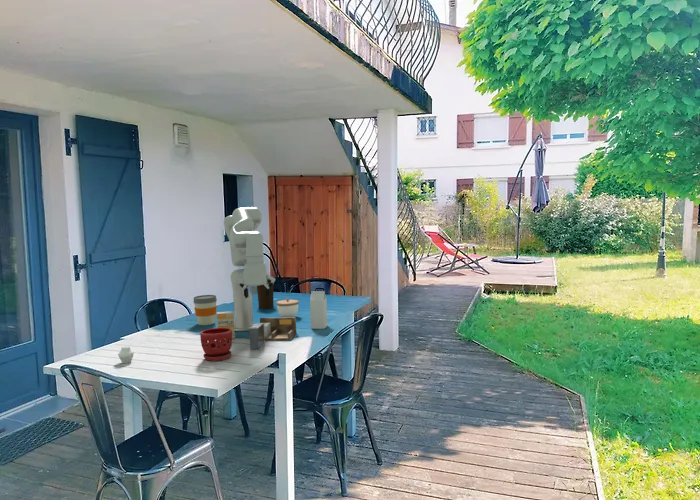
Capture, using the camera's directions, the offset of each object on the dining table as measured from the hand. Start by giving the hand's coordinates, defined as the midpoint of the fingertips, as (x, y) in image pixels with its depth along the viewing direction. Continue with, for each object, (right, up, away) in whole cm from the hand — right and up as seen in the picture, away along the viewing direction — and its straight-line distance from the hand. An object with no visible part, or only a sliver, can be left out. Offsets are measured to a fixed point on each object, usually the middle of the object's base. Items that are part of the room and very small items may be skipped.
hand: (257, 297), depth 232 cm
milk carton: (+26, -19, +35) cm, 48 cm away
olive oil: (-11, -15, +95) cm, 97 cm away
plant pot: (-14, -25, -13) cm, 32 cm away
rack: (+6, -21, +19) cm, 29 cm away
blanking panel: (0, -23, +1) cm, 23 cm away
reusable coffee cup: (-38, -20, +55) cm, 70 cm away
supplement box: (-18, -22, +19) cm, 35 cm away
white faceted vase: (-53, -26, -15) cm, 61 cm away
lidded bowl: (+7, -17, +63) cm, 65 cm away
